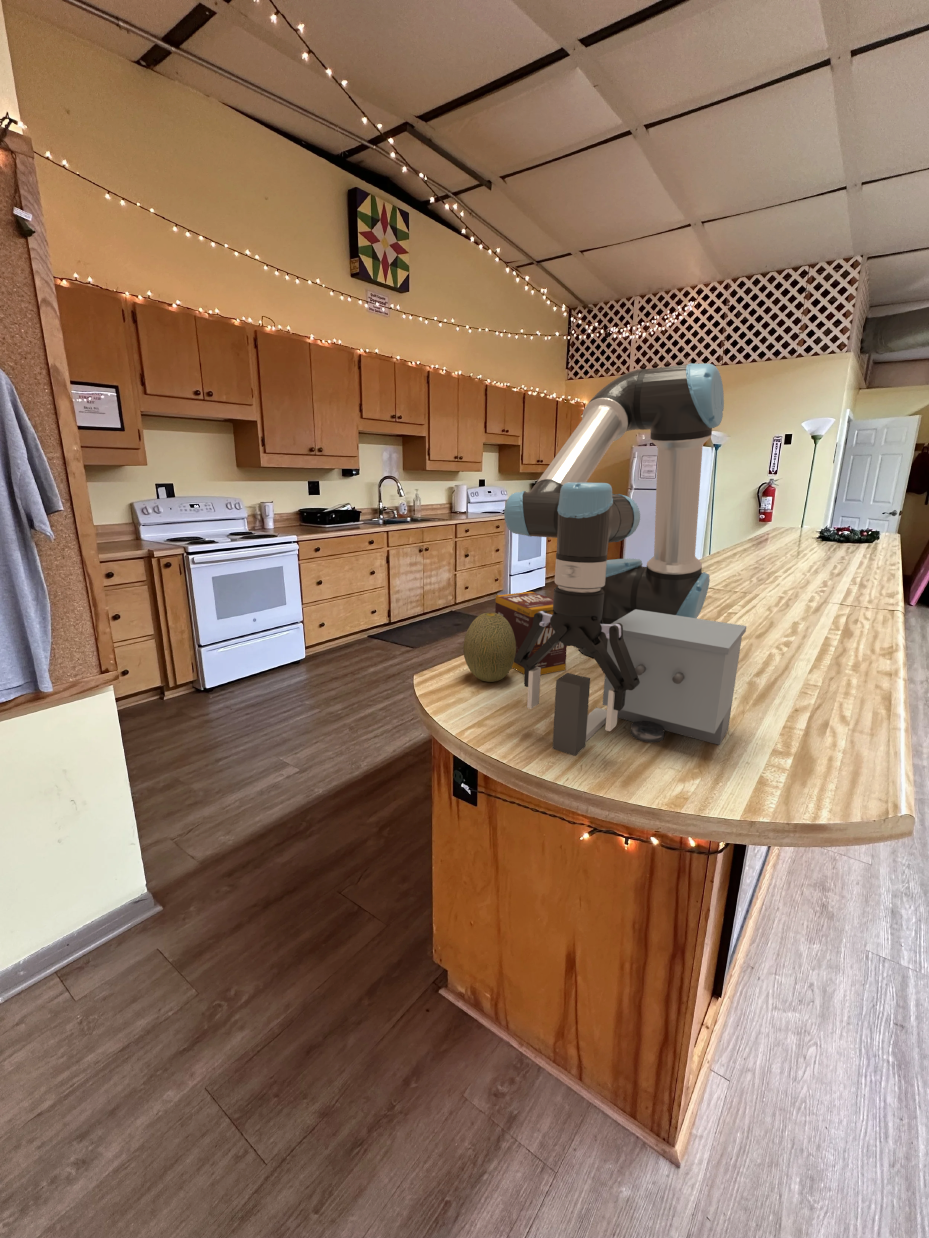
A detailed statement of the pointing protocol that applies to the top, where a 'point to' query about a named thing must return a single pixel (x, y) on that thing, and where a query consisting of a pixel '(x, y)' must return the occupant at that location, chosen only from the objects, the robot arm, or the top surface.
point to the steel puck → (647, 731)
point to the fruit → (489, 647)
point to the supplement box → (520, 618)
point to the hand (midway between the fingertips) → (570, 716)
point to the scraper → (574, 714)
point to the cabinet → (680, 672)
